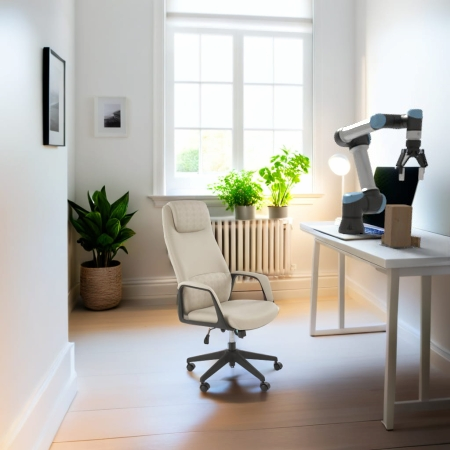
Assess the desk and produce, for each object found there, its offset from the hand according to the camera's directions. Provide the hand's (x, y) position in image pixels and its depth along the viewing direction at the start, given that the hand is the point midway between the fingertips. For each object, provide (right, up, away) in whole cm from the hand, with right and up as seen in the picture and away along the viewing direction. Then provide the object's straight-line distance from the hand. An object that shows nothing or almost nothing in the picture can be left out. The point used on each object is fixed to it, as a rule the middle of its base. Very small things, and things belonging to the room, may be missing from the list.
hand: (411, 180), depth 263 cm
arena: (-12, -34, -15) cm, 39 cm away
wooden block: (-13, -34, -16) cm, 40 cm away
